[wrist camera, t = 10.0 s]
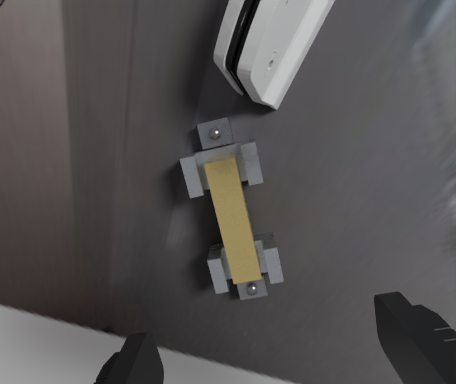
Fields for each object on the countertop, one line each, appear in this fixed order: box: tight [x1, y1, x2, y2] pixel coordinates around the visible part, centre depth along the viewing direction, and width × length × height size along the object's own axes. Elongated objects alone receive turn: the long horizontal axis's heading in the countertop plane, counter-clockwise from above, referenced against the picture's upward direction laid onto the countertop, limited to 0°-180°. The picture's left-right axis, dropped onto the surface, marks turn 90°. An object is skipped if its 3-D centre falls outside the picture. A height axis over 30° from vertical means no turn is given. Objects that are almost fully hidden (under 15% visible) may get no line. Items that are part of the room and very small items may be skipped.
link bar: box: [204, 154, 262, 284], centre depth 31 cm, size 3×13×3 cm, turn 13°
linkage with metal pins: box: [180, 117, 284, 300], centre depth 32 cm, size 7×21×4 cm, turn 13°
